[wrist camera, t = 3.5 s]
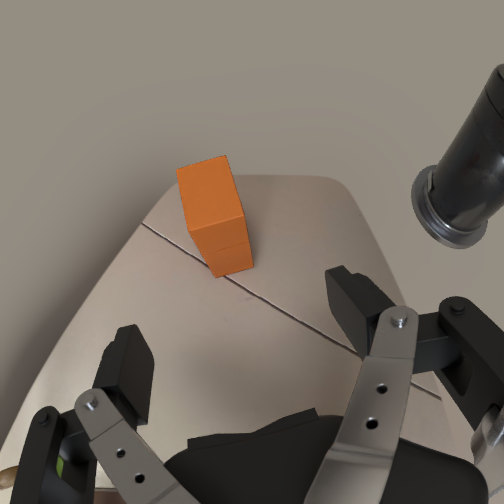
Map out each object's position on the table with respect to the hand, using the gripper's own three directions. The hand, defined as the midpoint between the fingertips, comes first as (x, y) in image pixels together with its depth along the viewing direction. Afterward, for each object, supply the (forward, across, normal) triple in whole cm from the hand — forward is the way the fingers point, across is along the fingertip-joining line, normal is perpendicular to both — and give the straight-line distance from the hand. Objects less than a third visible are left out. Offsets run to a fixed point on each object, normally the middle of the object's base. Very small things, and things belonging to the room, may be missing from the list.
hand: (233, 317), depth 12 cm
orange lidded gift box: (+20, 0, +5) cm, 20 cm away
